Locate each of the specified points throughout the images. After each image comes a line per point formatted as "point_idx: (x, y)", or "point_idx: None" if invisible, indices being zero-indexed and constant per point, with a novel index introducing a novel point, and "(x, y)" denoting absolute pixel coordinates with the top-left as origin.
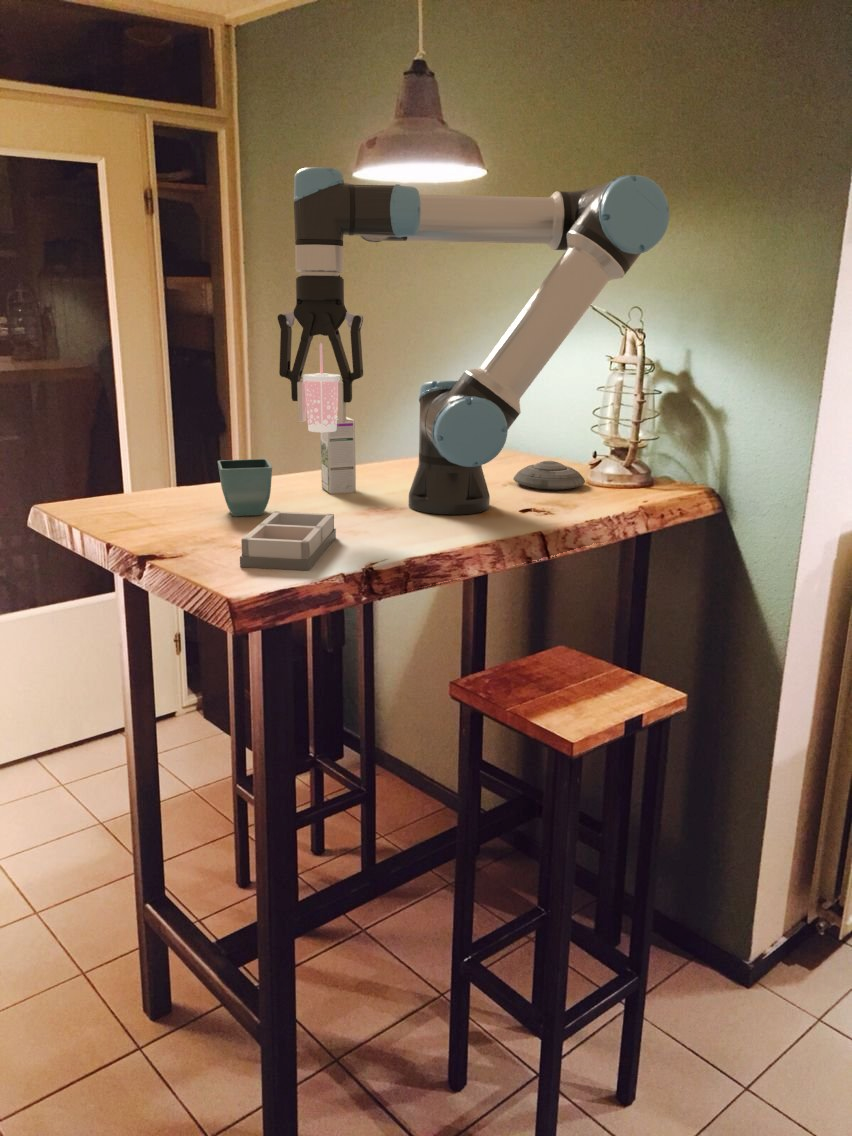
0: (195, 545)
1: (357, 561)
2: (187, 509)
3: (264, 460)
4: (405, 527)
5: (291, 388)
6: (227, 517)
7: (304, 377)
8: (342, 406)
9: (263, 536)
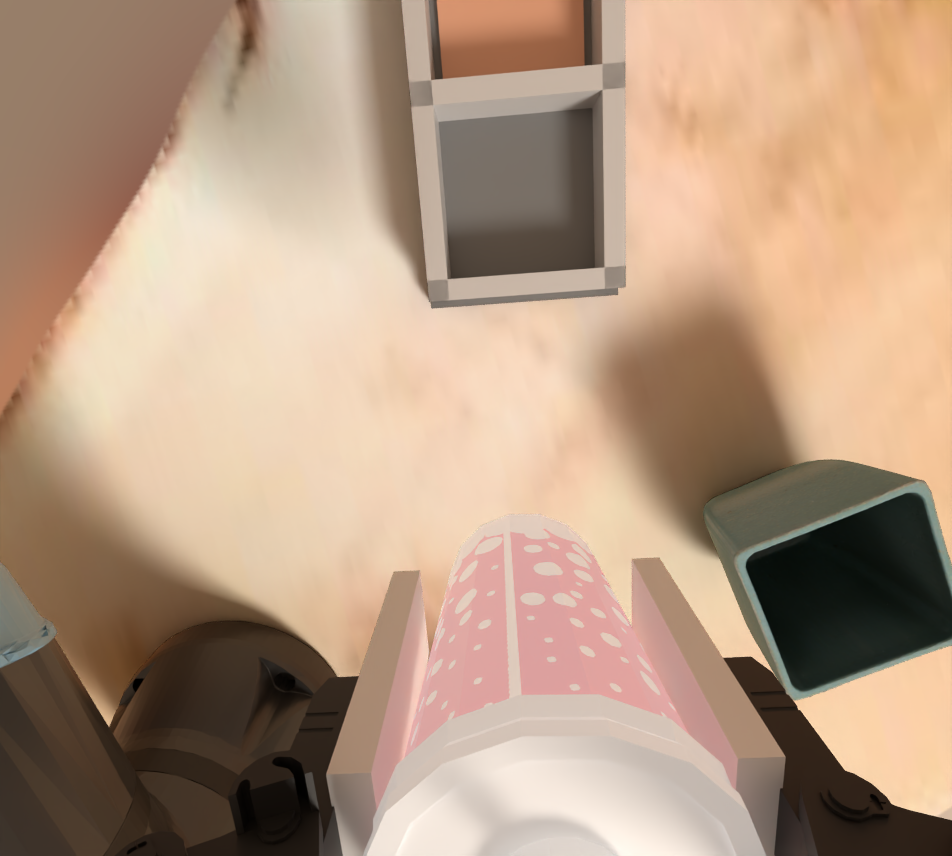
0: (813, 105)
1: (297, 57)
2: (944, 523)
3: (795, 686)
4: (286, 471)
5: (814, 732)
6: (802, 460)
7: (723, 779)
8: (374, 631)
9: (595, 56)
